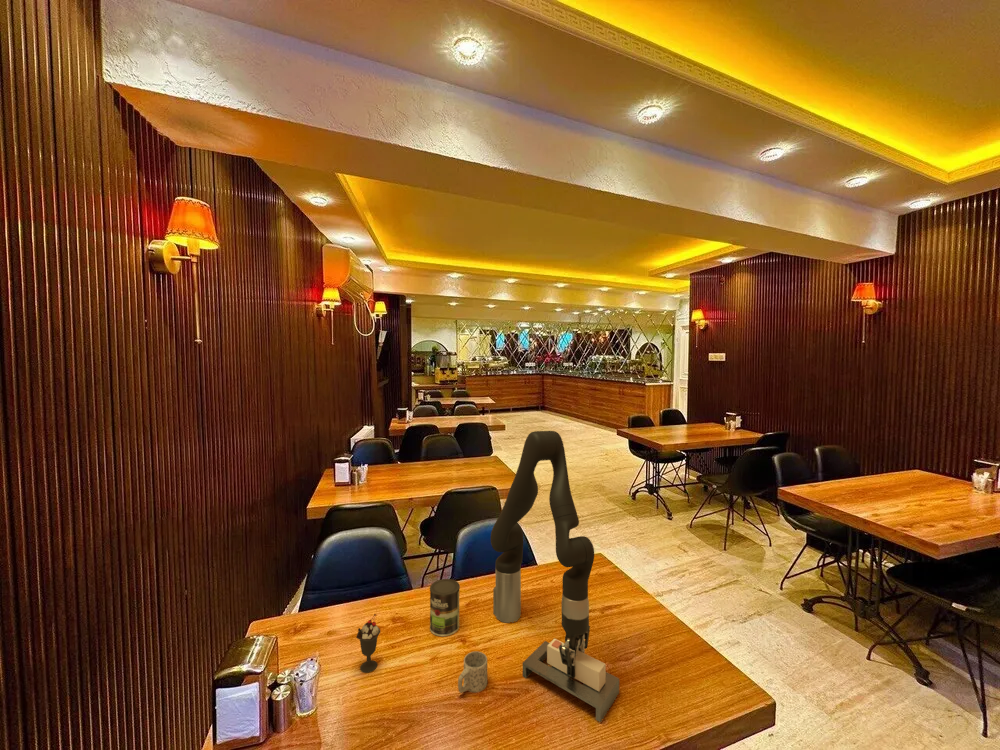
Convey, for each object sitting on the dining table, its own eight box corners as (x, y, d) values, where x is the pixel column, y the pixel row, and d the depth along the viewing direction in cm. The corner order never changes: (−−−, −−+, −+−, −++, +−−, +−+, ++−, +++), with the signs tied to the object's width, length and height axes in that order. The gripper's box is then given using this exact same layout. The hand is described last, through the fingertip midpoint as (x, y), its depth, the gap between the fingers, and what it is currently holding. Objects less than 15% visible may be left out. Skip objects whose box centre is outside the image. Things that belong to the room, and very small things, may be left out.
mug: (474, 670, 115) (474, 648, 115) (492, 681, 111) (492, 658, 111) (450, 691, 107) (450, 667, 107) (467, 704, 103) (467, 679, 103)
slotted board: (522, 676, 113) (522, 662, 113) (545, 653, 122) (545, 640, 122) (600, 723, 97) (600, 707, 97) (619, 693, 107) (619, 678, 107)
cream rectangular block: (547, 673, 112) (547, 644, 112) (554, 665, 115) (554, 637, 115) (599, 703, 102) (599, 671, 102) (605, 693, 105) (605, 662, 105)
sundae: (385, 661, 119) (385, 612, 119) (370, 677, 112) (370, 625, 112) (367, 656, 121) (366, 608, 121) (352, 671, 114) (352, 620, 115)
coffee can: (450, 640, 128) (450, 597, 128) (423, 632, 132) (423, 590, 132) (465, 621, 138) (464, 581, 138) (439, 615, 142) (439, 576, 142)
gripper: (575, 594, 116) (575, 651, 116) (550, 617, 105) (550, 680, 105) (598, 603, 112) (598, 663, 112) (574, 628, 101) (574, 694, 101)
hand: (575, 671), depth 109 cm, fingers closed on cream rectangular block, 4 cm apart
